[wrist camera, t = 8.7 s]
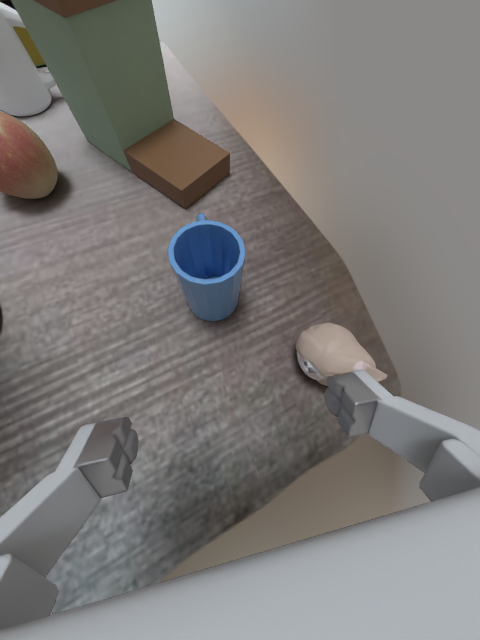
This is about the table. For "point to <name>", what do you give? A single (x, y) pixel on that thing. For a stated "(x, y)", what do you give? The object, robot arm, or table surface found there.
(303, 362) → the garlic bulb
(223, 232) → the cup
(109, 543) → the table surface
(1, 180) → the apple
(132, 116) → the green brown stepped block
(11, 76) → the mug
